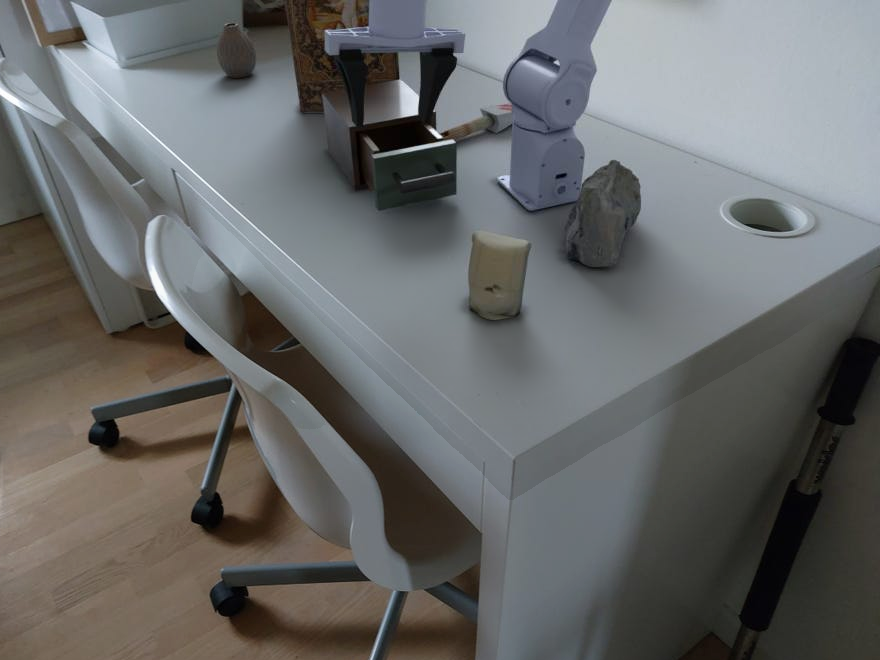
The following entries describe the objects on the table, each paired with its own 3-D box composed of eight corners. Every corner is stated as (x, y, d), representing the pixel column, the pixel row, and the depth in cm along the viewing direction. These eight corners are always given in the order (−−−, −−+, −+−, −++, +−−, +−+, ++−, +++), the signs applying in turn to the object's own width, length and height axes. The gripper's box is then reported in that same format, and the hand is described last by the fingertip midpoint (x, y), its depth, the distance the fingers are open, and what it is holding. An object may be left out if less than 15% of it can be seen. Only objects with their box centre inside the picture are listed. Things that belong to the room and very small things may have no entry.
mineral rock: (619, 207, 87) (632, 126, 80) (685, 245, 79) (705, 160, 73) (532, 236, 82) (539, 153, 76) (593, 279, 75) (606, 192, 69)
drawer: (470, 209, 86) (470, 156, 82) (389, 226, 84) (385, 173, 80) (421, 156, 99) (420, 108, 94) (349, 170, 96) (344, 121, 92)
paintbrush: (546, 96, 108) (440, 137, 100) (545, 114, 109) (441, 155, 102) (529, 89, 110) (424, 129, 103) (528, 106, 112) (425, 147, 104)
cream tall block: (517, 290, 74) (522, 222, 69) (532, 319, 70) (538, 249, 65) (463, 297, 74) (464, 229, 69) (475, 327, 70) (477, 257, 65)
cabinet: (437, 174, 96) (436, 111, 91) (355, 191, 94) (348, 127, 88) (403, 137, 106) (401, 79, 101) (328, 152, 104) (321, 92, 98)
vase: (217, 73, 134) (207, 23, 128) (253, 66, 136) (244, 17, 130) (226, 83, 129) (216, 32, 124) (263, 76, 131) (254, 25, 126)
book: (297, 113, 116) (271, -63, 100) (304, 101, 120) (280, -70, 104) (397, 111, 114) (387, -68, 98) (400, 99, 118) (391, -75, 103)
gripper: (452, -23, 75) (439, 107, 83) (317, -26, 71) (317, 112, 79) (479, -10, 70) (462, 128, 78) (334, -12, 65) (333, 135, 73)
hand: (391, 122), depth 78 cm, fingers open, 7 cm apart
